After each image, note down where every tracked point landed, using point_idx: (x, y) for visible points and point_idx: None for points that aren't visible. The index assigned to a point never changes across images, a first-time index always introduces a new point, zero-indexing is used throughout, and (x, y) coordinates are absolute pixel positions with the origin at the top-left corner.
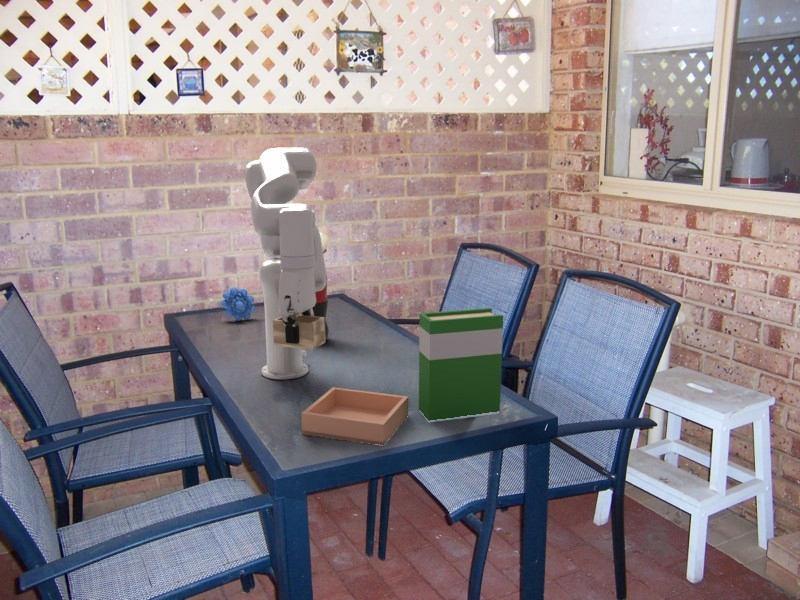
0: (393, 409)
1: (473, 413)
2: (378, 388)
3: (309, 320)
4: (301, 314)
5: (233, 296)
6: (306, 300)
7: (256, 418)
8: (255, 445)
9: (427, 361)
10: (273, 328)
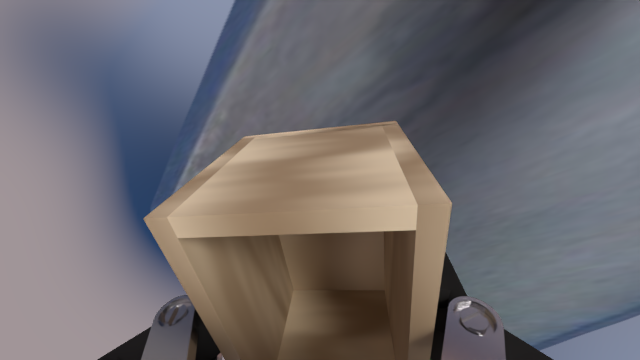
0: None
1: None
2: (521, 203)
3: (400, 343)
4: (445, 331)
5: None
6: None
7: (262, 60)
8: (181, 140)
9: None
10: (192, 180)
